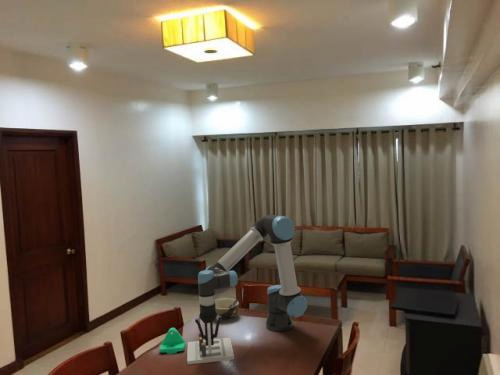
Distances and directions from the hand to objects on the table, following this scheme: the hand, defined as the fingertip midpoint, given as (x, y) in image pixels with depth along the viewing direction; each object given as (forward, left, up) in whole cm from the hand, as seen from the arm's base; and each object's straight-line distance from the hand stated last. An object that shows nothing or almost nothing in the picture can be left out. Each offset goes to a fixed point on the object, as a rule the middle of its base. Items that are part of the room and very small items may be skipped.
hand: (210, 351), depth 202 cm
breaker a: (+4, -14, -1) cm, 15 cm away
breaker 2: (+3, 0, -1) cm, 3 cm away
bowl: (-11, -52, -3) cm, 53 cm away
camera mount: (+18, -14, -4) cm, 23 cm away
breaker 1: (+4, -7, -1) cm, 8 cm away
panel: (0, -7, -3) cm, 8 cm away
